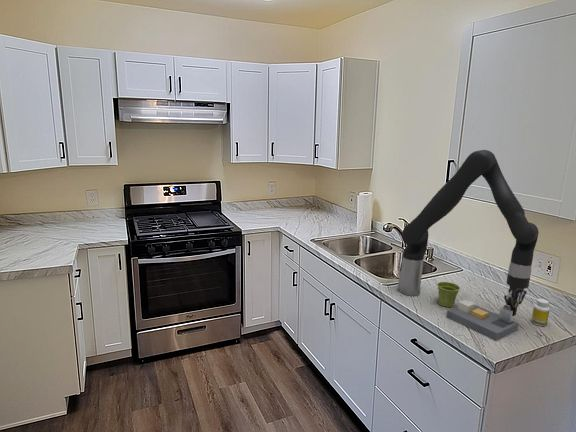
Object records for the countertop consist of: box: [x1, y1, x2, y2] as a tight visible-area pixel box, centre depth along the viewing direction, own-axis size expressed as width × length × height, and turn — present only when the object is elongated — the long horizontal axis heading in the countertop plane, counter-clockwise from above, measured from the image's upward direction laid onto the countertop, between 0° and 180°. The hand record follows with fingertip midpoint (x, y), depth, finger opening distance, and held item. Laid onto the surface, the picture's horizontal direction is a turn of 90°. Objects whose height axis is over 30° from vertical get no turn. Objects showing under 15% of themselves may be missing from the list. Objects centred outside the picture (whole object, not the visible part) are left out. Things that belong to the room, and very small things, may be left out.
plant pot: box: [436, 281, 461, 308], centre depth 172 cm, size 9×9×9 cm
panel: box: [446, 304, 520, 342], centre depth 157 cm, size 21×15×3 cm
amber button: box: [471, 308, 489, 320], centre depth 157 cm, size 4×4×4 cm
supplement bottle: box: [530, 298, 550, 327], centre depth 158 cm, size 5×5×10 cm
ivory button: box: [457, 299, 476, 313], centre depth 162 cm, size 4×4×4 cm
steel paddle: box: [498, 304, 513, 323], centre depth 152 cm, size 4×2×6 cm, turn 33°
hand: (511, 314), depth 155 cm, fingers closed
